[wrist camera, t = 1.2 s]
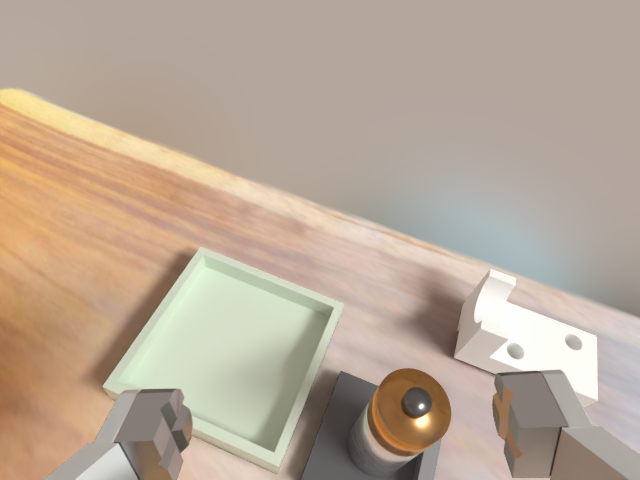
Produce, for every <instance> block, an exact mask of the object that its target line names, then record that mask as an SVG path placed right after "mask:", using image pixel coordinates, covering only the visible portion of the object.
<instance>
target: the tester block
mask: <svg viewBox="0 0 640 480" xmlns="http://www.w3.org/2000/svg"><path fill="white" fill-rule="evenodd" d="M378 387H379V386H376V385H374V384H372V383H369V382H367V381H364V380H362V379H360V378H357V377H355V376H352V375H350V374H348V373H345V372H343V371H341V372H340V374H339V376H338V379H337V382H336V385H335V387H334V390H333V393H332V396H331V398H330V401H329V404H328V407H327V409H326V412H325V415H324V418H323V420H322V423H321V426H320V428H319V431H318V434H317V437H316V439H315V442H314V445H313V448H312V450H311V453H310V456H309V459H308V461H307V464H306V467H305V470H304V472H303V475H302V478H301V480H434V475H435V470H436V464H437V459H438V454H439V449H440V444H441V439H442V438H441V439H439V440H438V441H437V442H436V443H434V444H433V445H432V446H430V447H429V448H428V449H426V450H425V451H423V452H422V453H420V454H418V455H417V456H416V457H414V458H413V459H412V460H410V461H409V462H408V463H406V464H405V465H404V466H402V467H401V468H400V469H398V470H397V471H396V472H394V473H393V474H391V475H389V476H386V477H372V476H369V475H367V474H365V473H364V472H362V471H361V470H360V469H359V468H358V467H357V466H356V465H355V464H354V462H353V461H352V459H351V456H350V454H349V450H348V436H349V433H350V430H351V428H352V427H353V425H354V424H355V422H356V421H357V419H358V418H359V416H360V415H361V413H362V412H363V410H364V409H365V407H366V406H367V404H368V403H369V402H370V399H371V398H372V396H373V394H374V393H375V391H376V390H377V388H378Z"/></svg>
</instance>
